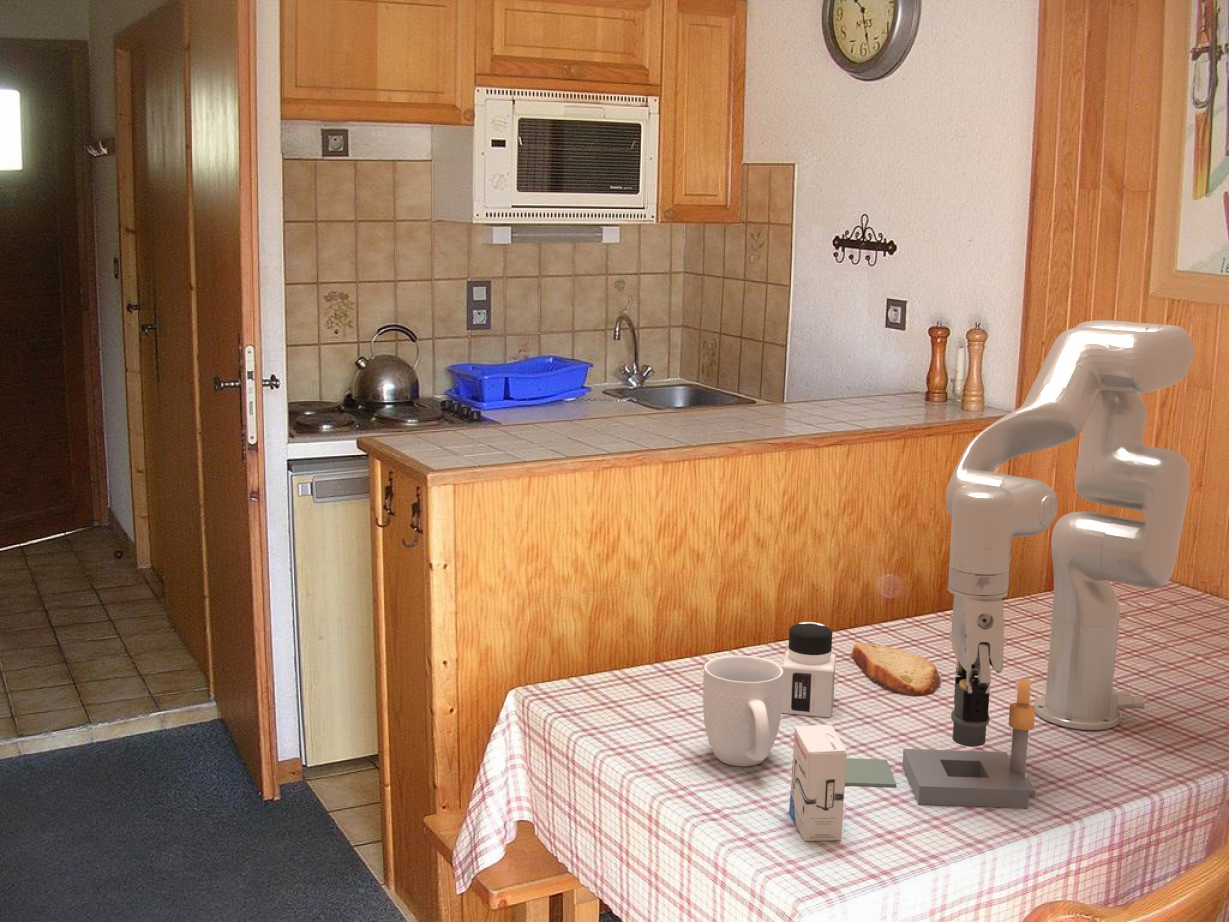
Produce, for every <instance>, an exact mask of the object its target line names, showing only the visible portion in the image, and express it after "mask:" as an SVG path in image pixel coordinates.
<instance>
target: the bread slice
mask: <svg viewBox="0 0 1229 922" xmlns="http://www.w3.org/2000/svg"><path fill="white" fill-rule="evenodd" d="M850 656H851V657H852V660H853V662H854V663H855V665H856V666H857V667H859V669H861V670H862V671H863V673H865V674H866V676H868V677H869V678H870V679H871V680H873V681H874V682H877V683H879V685H880V686H883V687H886V688H888V689H890V690H891V691H892V692H895V693H898V694H900V695H904V696H911V697H924V696H930V695H933V694H934V693H935V692H936V690H937V688H938V687H939V685H940V684H941V677H940V674H939V672H938V669H937V667H936V665H935V664H934V663H933V662H932V661H929V659H927V658H925V657H923V656H920V655H915V654H913V653H912V652H911V653H910V652H908V651H905V650H902V649H900V648H897V647H890V646H888V645H882V644H879V643H869V642H868V643H867V642H856V643H855V644H854V647H853V648H852V650H851V653H850Z"/></svg>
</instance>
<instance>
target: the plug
mask: <svg viewBox="0 0 1229 922" xmlns="http://www.w3.org/2000/svg"><path fill="white" fill-rule="evenodd" d="M973 680H974V679H972V682H973ZM964 691H966V679H963V680H961V681H960V683H958V684H956V688H955V687H954V694H955V704H954V707H953V710H952V711H951V712H950V719H951V721H952V723H953V725H952V741H953V742H954V743H956V744H958V745H960V746H964V747H971V748H973V747H981V746H984V744H985V743H986V736H987V735H986V733H987V725H988V724H990V720H991V719H990V715H989V714H988V720H987V721H986V722H966V721H964V720H963V718H962V711H963V694H964Z"/></svg>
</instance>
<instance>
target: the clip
mask: <svg viewBox="0 0 1229 922" xmlns="http://www.w3.org/2000/svg"><path fill="white" fill-rule="evenodd" d="M1017 682H1018V683H1017V692H1016V693H1017V695H1016V702H1011V704H1009V711H1008V726H1009V727H1010V728H1012V729H1013V728H1014V729H1018V730H1029V731H1031V730H1033V729H1034V728H1035V717H1036V713H1035V707H1034V705H1032V704H1030V696H1031V695H1030V694H1031V679H1024V678H1018V681H1017Z"/></svg>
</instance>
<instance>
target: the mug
mask: <svg viewBox="0 0 1229 922" xmlns="http://www.w3.org/2000/svg"><path fill="white" fill-rule="evenodd" d="M782 699H783V669H782V666H780V665H779V664H777V663H776V662H774V661H773V660H769V659H767V658H765V657H764V658H762V657H758V656H752V655H739V654H738V655H724V656H720V657H719V656H718V657H715V658H712V659H710V660H708V661H706V663H705V664H704V667H703V686H702V708H703V714H702V715H703V723H704V728H705V733H706V736H707V741H708V744H709V746H710V748H711V750H712V751H713V754H714V756H716V759H718V760H719V761H720V762H722V763H724V764H727V765H729V766H734V767H753V766H756V765H759V764H761V763H762V762H764V760H765V759H767V757H768V755H769V754H770V752H771V750H772V748H773V746H774V745H775V742H776V739H777V735H778V732H779V730H780V729H779V727H780V724H781V718H782V714H783V713H782V701H783V700H782Z"/></svg>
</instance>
